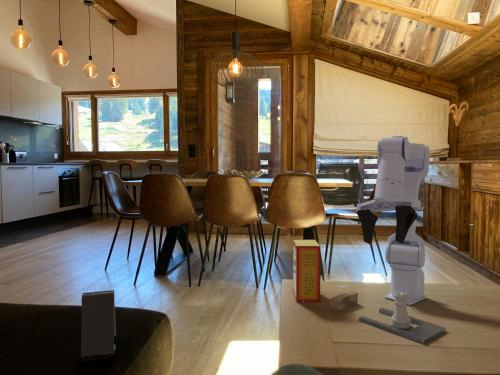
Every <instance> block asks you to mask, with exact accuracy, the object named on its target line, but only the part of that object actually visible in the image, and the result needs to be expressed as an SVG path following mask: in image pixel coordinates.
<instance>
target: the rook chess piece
mask: <svg viewBox="0 0 500 375" xmlns="http://www.w3.org/2000/svg"><path fill="white" fill-rule="evenodd" d="M394 297H395V298H396V301H395V300H394V303H395V306H394V314H393V316H390V317H391V318H390V320H391V321H390V324H391V326H393V327H396V328H398V329H401V330H408V329H410V328H411V327H412V324H411V320H410V318H409V316H410V315H409V314H408V309H407V305H409V304H408V303H407V299H408V298H409V296H408V295H407V292H405V291H402V292H400V290H398V291H396V292H395V294H394Z"/></svg>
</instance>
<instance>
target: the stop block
mask: <svg viewBox="0 0 500 375" xmlns="http://www.w3.org/2000/svg"><path fill="white" fill-rule="evenodd" d="M358 296H359V293H358V292H356V291H352V290H351V291H347V292H345V293H342V294H338V295H336V296H333V297H330V310H332V311H334V312H339V311H342V310H346V309H348V308H350V307H353V306H355V305H358V303H359V297H358Z"/></svg>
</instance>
